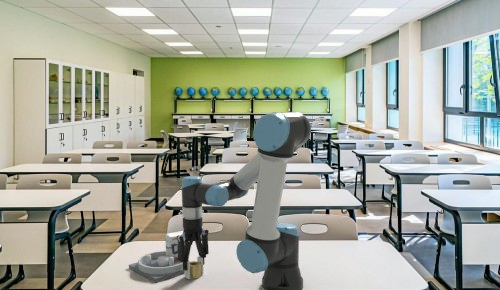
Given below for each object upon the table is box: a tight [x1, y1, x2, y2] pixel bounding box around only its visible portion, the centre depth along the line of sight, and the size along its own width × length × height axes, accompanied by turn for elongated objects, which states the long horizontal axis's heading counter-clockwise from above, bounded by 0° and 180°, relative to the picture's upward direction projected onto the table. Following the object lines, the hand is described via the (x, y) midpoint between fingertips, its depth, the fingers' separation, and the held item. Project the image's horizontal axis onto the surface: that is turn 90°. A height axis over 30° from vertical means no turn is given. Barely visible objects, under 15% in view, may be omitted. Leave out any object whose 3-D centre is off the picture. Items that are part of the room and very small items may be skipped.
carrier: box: [128, 250, 191, 284], centre depth 187 cm, size 20×20×6 cm
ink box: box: [165, 230, 190, 261], centre depth 195 cm, size 8×5×12 cm, turn 123°
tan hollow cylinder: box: [189, 260, 202, 280], centre depth 179 cm, size 5×5×5 cm
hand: (194, 275), depth 179 cm, fingers open, 6 cm apart
